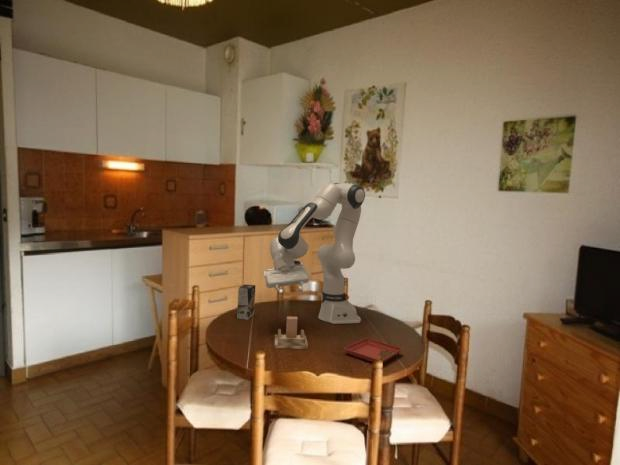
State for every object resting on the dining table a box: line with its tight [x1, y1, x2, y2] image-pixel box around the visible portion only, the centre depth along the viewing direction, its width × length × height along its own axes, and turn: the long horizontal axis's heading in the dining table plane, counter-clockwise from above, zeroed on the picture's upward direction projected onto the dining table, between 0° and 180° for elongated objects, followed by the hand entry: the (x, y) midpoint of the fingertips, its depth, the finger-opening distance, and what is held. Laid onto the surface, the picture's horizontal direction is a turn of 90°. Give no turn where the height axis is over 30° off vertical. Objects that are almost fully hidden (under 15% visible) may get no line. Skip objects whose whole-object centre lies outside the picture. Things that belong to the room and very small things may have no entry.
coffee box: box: [236, 284, 257, 321], centre depth 211 cm, size 9×6×16 cm
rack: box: [274, 328, 309, 350], centre depth 179 cm, size 14×13×4 cm
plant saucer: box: [344, 337, 403, 363], centre depth 171 cm, size 18×18×3 cm
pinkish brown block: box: [285, 315, 298, 338], centre depth 178 cm, size 4×4×10 cm
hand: (291, 292), depth 185 cm, fingers open, 8 cm apart
